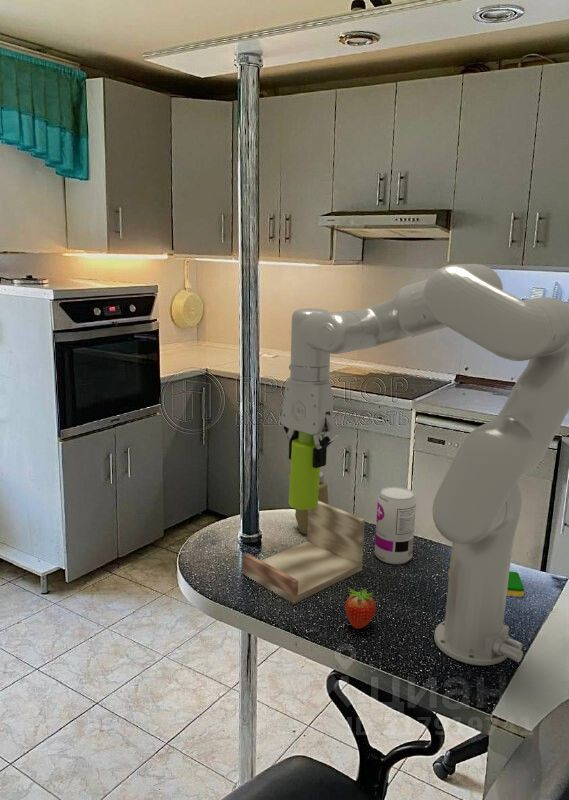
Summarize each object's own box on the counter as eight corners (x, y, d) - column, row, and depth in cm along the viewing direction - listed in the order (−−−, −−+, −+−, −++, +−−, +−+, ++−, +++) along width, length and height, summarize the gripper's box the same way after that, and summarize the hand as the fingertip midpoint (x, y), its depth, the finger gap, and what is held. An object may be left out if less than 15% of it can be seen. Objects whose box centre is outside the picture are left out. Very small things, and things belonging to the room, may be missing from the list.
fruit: (358, 617, 121) (360, 577, 119) (379, 629, 117) (382, 589, 116) (337, 627, 118) (339, 586, 116) (359, 640, 114) (361, 598, 112)
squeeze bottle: (301, 540, 152) (303, 465, 148) (290, 525, 159) (292, 454, 155) (333, 535, 155) (337, 462, 150) (321, 522, 162) (324, 452, 158)
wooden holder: (361, 570, 139) (364, 519, 136) (293, 603, 125) (295, 548, 122) (310, 545, 149) (312, 498, 146) (242, 574, 136) (243, 522, 133)
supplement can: (373, 563, 142) (377, 498, 138) (375, 546, 150) (379, 484, 146) (411, 567, 140) (417, 501, 137) (411, 550, 148) (416, 487, 145)
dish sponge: (523, 600, 129) (524, 589, 129) (450, 593, 131) (451, 582, 131) (516, 582, 136) (517, 571, 136) (447, 575, 138) (448, 565, 138)
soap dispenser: (322, 511, 130) (328, 414, 125) (287, 508, 131) (292, 411, 126) (323, 500, 136) (329, 406, 131) (290, 497, 136) (295, 403, 131)
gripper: (265, 369, 131) (264, 455, 135) (329, 383, 119) (326, 478, 123) (292, 364, 136) (290, 448, 140) (356, 378, 124) (352, 469, 128)
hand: (307, 461), depth 131 cm, fingers closed on soap dispenser, 6 cm apart
